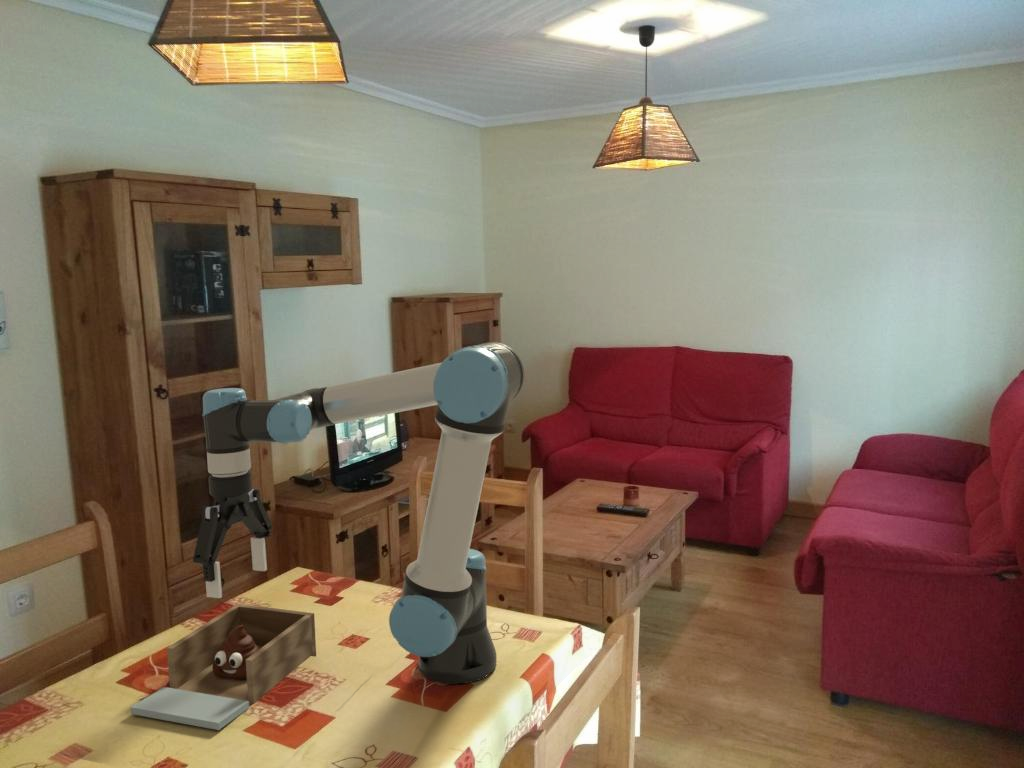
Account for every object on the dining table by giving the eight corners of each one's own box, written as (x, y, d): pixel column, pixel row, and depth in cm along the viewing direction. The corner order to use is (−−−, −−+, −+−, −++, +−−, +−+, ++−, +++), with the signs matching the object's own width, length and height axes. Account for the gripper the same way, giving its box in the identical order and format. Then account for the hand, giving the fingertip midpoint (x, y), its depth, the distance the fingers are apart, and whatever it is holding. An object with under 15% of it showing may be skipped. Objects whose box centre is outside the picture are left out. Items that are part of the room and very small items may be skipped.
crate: (240, 644, 163) (237, 603, 162) (316, 655, 158) (314, 613, 157) (170, 694, 144) (166, 647, 143) (254, 708, 139) (251, 660, 138)
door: (163, 686, 142) (130, 707, 135) (248, 701, 137) (218, 723, 129) (164, 693, 142) (130, 713, 135) (248, 707, 137) (219, 730, 129)
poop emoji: (274, 663, 153) (271, 618, 152) (249, 685, 145) (246, 637, 143) (229, 658, 155) (226, 613, 154) (202, 679, 147) (199, 632, 146)
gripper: (253, 457, 158) (260, 558, 160) (164, 488, 134) (174, 607, 137) (285, 458, 155) (292, 561, 158) (201, 490, 132) (211, 611, 134)
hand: (238, 583), depth 147 cm, fingers open, 13 cm apart
